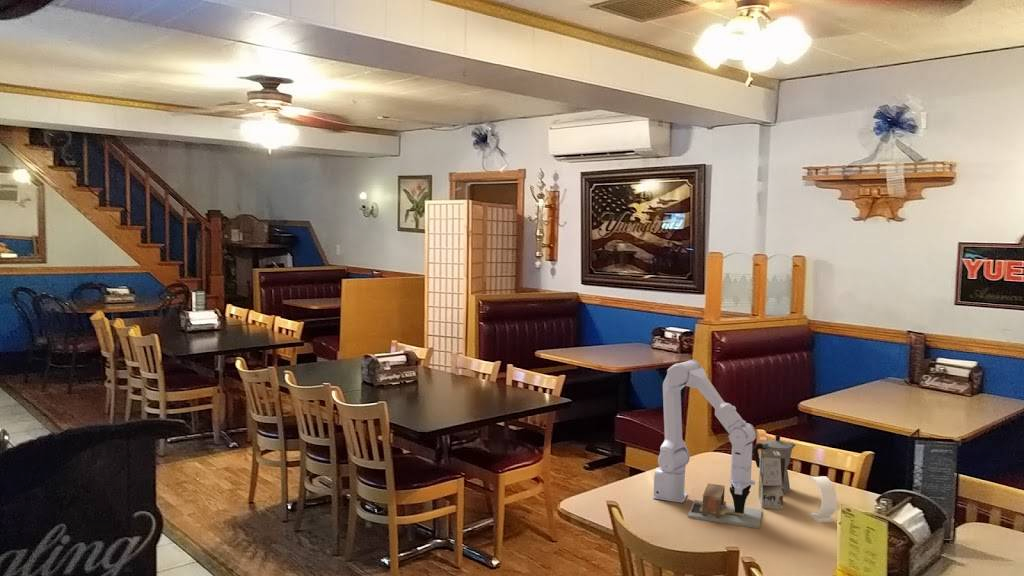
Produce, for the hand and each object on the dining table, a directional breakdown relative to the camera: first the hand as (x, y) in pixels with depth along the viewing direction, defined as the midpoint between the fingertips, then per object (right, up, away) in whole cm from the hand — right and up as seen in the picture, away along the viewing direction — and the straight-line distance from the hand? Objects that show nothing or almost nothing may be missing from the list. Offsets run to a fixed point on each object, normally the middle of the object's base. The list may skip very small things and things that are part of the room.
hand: (739, 510), depth 222 cm
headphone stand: (+24, -3, -1) cm, 24 cm away
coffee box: (+13, -2, +11) cm, 17 cm away
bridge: (-7, -2, +3) cm, 8 cm away
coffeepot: (+18, 0, +24) cm, 30 cm away
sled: (-5, -1, +2) cm, 5 cm away
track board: (-4, -2, +2) cm, 5 cm away
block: (-7, 0, +3) cm, 8 cm away
